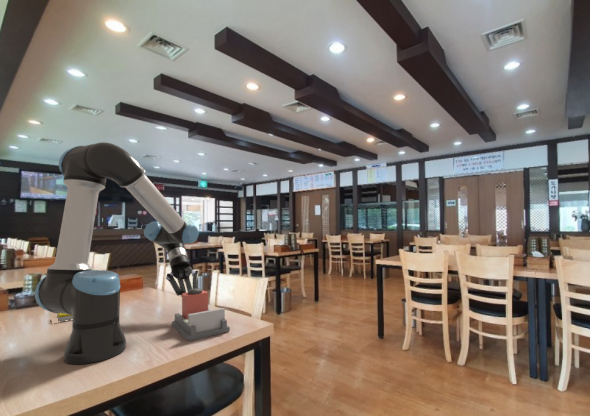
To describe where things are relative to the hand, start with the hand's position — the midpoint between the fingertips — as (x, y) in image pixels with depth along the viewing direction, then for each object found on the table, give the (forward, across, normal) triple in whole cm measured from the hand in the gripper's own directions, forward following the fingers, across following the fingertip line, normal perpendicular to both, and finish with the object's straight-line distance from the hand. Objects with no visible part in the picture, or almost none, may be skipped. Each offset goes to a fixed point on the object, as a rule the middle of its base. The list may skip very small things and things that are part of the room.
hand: (191, 308), depth 118 cm
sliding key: (+6, 0, +1) cm, 6 cm away
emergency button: (-23, +36, -31) cm, 53 cm away
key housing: (+11, 0, +3) cm, 11 cm away
